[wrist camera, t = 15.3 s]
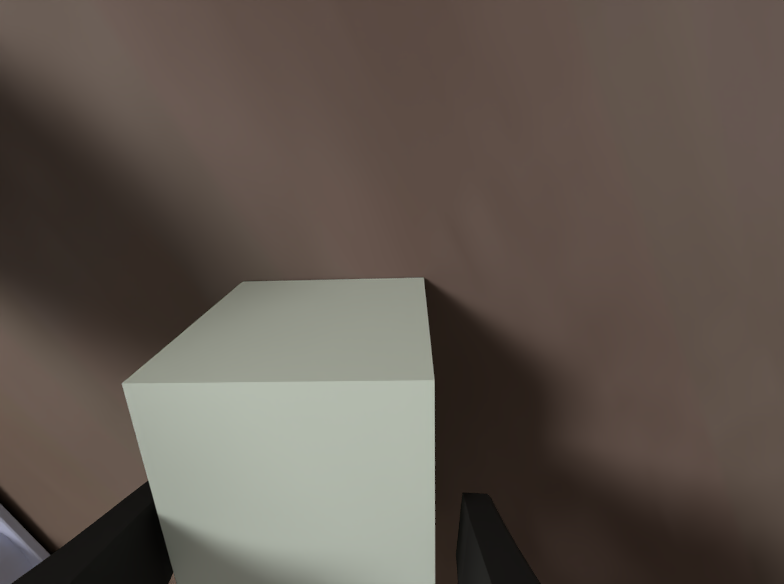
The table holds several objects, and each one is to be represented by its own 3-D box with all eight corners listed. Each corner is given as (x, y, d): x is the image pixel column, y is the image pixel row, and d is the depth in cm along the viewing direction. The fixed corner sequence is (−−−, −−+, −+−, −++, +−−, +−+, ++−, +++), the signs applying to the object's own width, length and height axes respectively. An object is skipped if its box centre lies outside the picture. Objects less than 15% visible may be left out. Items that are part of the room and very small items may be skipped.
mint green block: (426, 525, 18) (435, 727, 11) (280, 524, 18) (214, 721, 12) (423, 277, 14) (434, 380, 8) (242, 281, 14) (121, 383, 8)
